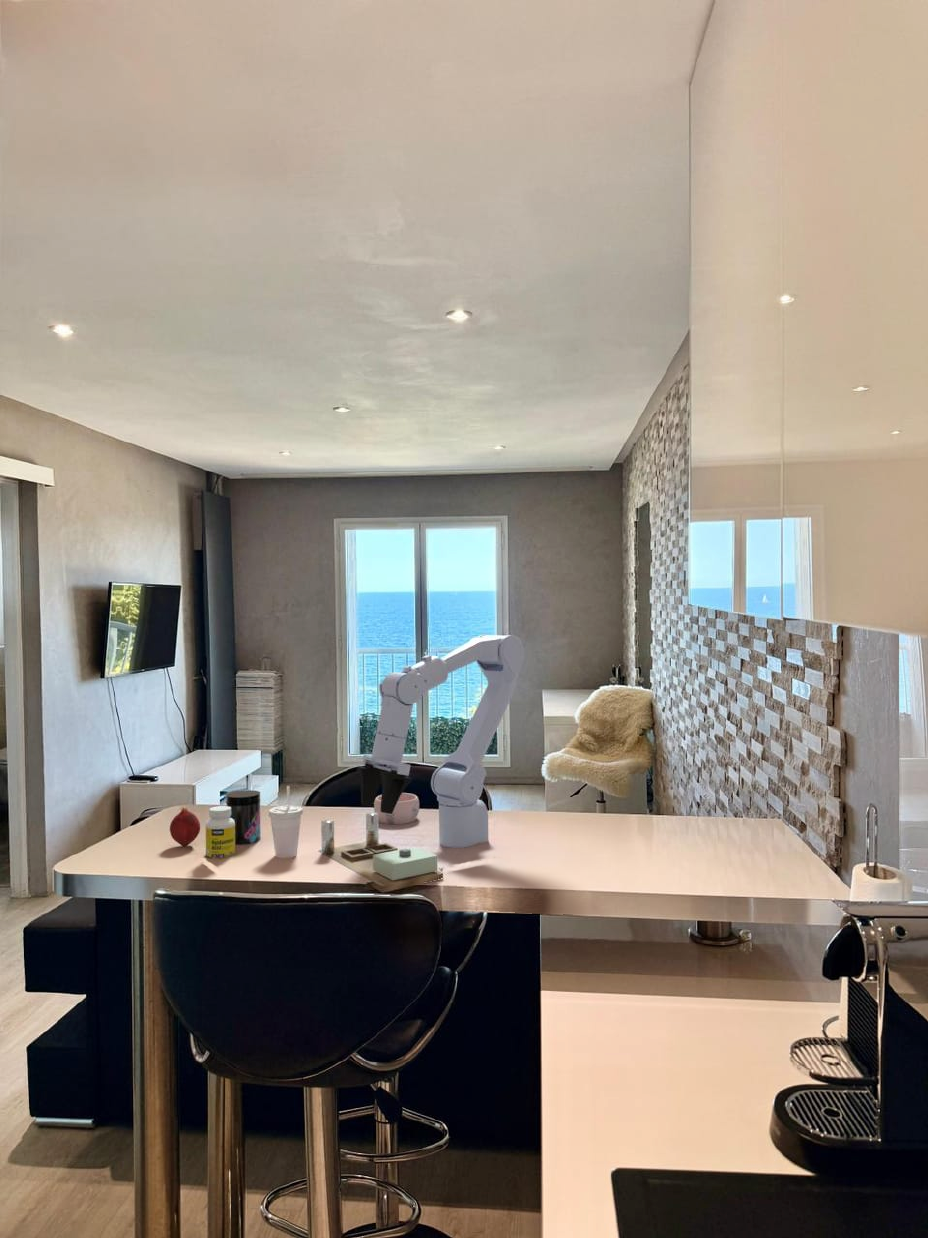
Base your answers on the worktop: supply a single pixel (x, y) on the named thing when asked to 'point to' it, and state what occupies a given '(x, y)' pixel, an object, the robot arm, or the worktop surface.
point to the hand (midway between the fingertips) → (376, 809)
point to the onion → (184, 827)
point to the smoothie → (286, 828)
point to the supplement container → (245, 815)
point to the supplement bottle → (220, 833)
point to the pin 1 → (327, 836)
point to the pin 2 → (372, 829)
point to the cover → (404, 863)
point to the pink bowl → (399, 810)
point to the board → (362, 863)
